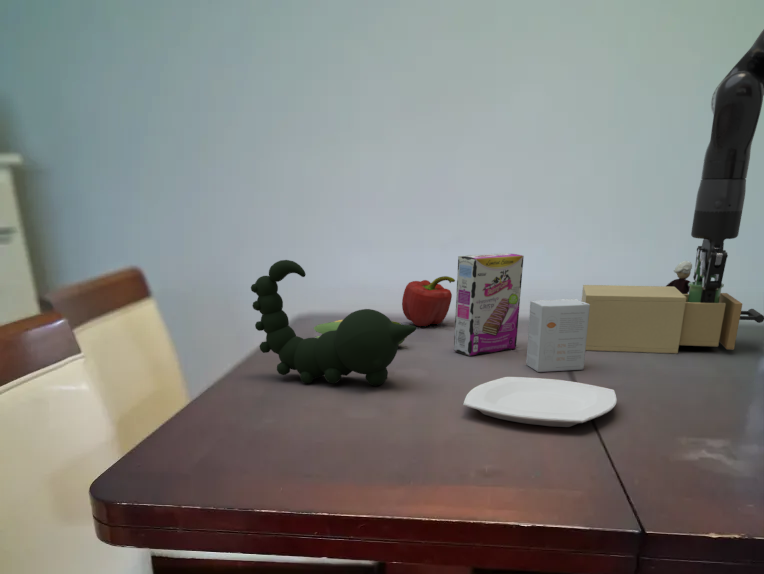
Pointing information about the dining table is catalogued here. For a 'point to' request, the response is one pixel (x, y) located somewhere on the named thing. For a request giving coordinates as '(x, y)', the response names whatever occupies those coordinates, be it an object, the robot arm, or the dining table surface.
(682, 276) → the grandmother figurine
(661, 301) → the cabinet
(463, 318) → the candy bar box
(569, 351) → the small box
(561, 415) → the plate
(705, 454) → the dining table surface
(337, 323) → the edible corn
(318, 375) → the toy figurine
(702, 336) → the drawer
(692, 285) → the pot
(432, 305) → the vegetable
